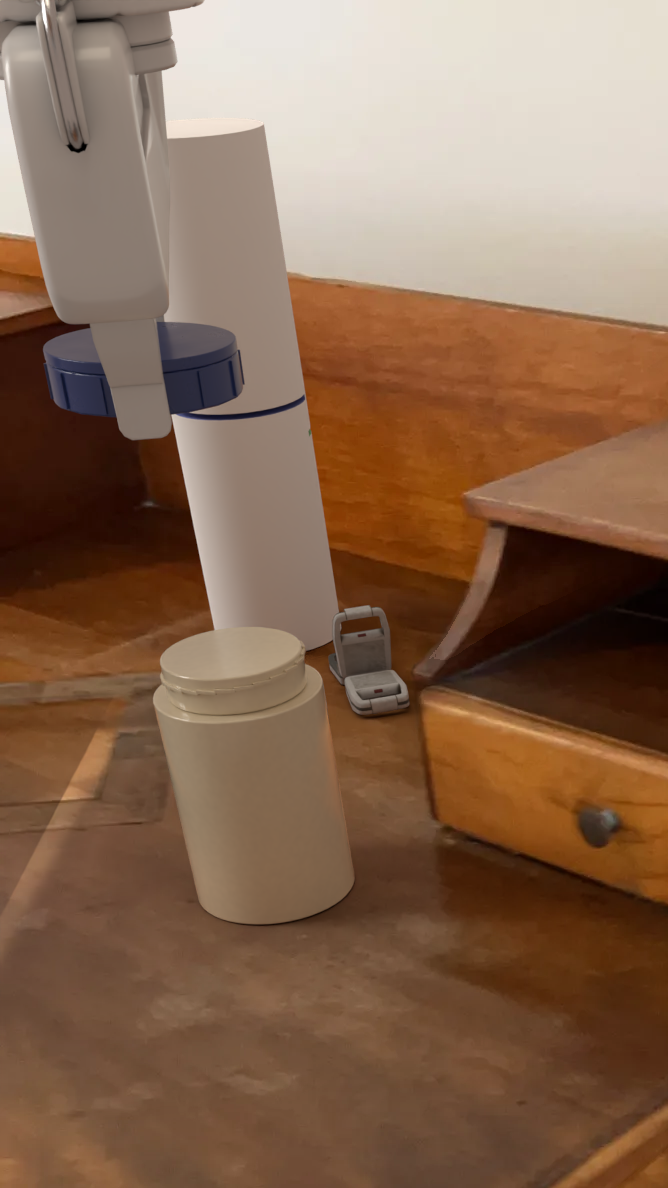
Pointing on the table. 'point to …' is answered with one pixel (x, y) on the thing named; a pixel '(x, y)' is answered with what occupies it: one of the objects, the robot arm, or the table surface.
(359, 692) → the strap clip
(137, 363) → the robot arm
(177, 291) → the cylindrical container
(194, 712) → the jar
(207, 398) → the lid
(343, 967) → the table surface
